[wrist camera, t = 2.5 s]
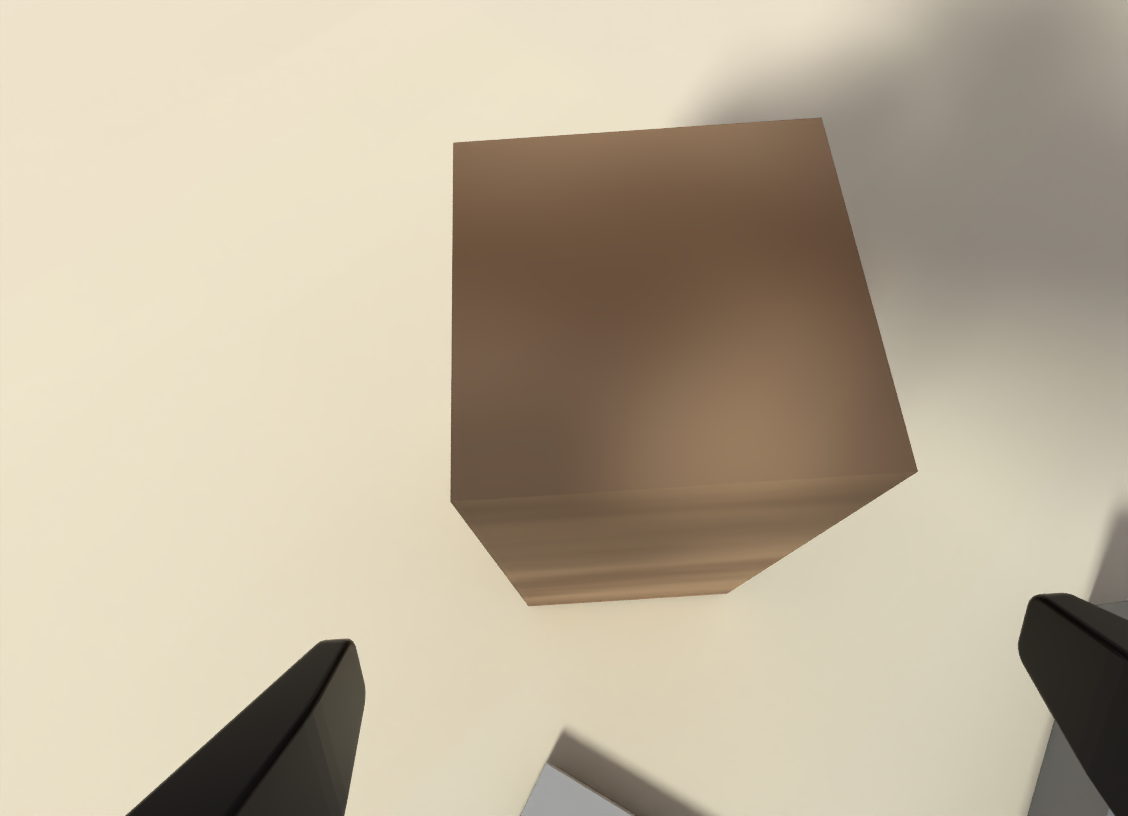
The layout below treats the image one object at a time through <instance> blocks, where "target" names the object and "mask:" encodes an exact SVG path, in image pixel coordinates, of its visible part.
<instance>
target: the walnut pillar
mask: <svg viewBox="0 0 1128 816" xmlns="http://www.w3.org/2000/svg"><path fill="white" fill-rule="evenodd" d="M916 472H918V470H917V467H916V463H915V459H914V456H913V452H912V448H911V445H910V441H909V437H908V434H907V430H906V426H905V423H904V419H903V415H902V412H901V408H900V404H899V401H898V397H897V393H896V390H895V386H894V382H893V379H892V375H891V371H890V368H889V364H888V360H887V357H886V353H885V349H884V346H883V342H882V338H881V335H880V331H879V327H878V324H877V320H876V316H875V313H874V309H873V305H872V302H871V298H870V294H869V291H868V287H867V283H866V280H865V276H864V272H863V269H862V265H861V261H860V258H859V254H858V250H857V247H856V243H855V239H854V236H853V232H852V228H851V225H850V221H849V217H848V214H847V210H846V206H845V203H844V199H843V195H842V192H841V188H840V184H839V181H838V177H837V173H836V170H835V166H834V162H833V159H832V155H831V151H830V148H829V144H828V140H827V137H826V133H825V129H824V126H823V122H822V118H810V119H795V120H780V121H766V122H751V123H736V124H721V125H707V126H692V127H677V128H663V129H648V130H633V131H619V132H604V133H589V134H574V135H560V136H545V137H530V138H516V139H501V140H486V141H472V142H457V143H453V249H452V379H451V503H452V504H453V506H454V507H455V508H456V510H457V511H458V512H459V514H460V515H461V516H462V518H463V519H464V520H465V522H466V523H467V524H468V526H469V527H470V528H471V530H472V531H473V532H474V534H475V535H476V536H477V538H478V539H479V540H480V542H481V543H482V544H483V546H484V547H485V548H486V550H487V551H488V552H489V554H490V555H491V557H492V558H493V559H494V561H495V562H496V563H497V565H498V566H499V567H500V569H501V570H502V571H503V573H504V574H505V575H506V577H507V578H508V579H509V581H510V582H511V583H512V585H513V586H514V587H515V589H516V590H517V591H518V593H519V594H520V595H521V597H522V598H523V599H524V601H525V602H526V603H527V605H528V606H538V605H554V604H570V603H585V602H601V601H617V600H633V599H648V598H664V597H680V596H696V595H711V594H727V593H729V592H730V591H732V590H733V589H735V588H736V587H738V586H740V585H741V584H743V583H744V582H746V581H747V580H749V579H751V578H752V577H754V576H755V575H757V574H758V573H760V572H762V571H763V570H765V569H766V568H768V567H769V566H771V565H772V564H774V563H776V562H777V561H779V560H780V559H782V558H783V557H785V556H787V555H788V554H790V553H791V552H793V551H794V550H796V549H797V548H799V547H801V546H802V545H804V544H805V543H807V542H808V541H810V540H812V539H813V538H815V537H816V536H818V535H819V534H821V533H822V532H824V531H826V530H827V529H829V528H830V527H832V526H833V525H835V524H837V523H838V522H840V521H841V520H843V519H844V518H846V517H847V516H849V515H851V514H852V513H854V512H855V511H857V510H858V509H860V508H862V507H863V506H865V505H866V504H868V503H869V502H871V501H873V500H874V499H876V498H877V497H879V496H880V495H882V494H883V493H885V492H887V491H888V490H890V489H891V488H893V487H894V486H896V485H898V484H899V483H901V482H902V481H904V480H905V479H907V478H908V477H910V476H912V475H913V474H915V473H916Z"/></svg>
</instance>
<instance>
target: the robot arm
mask: <svg viewBox="0 0 1128 816" xmlns="http://www.w3.org/2000/svg"><path fill="white" fill-rule="evenodd" d="M1018 650H1019V655H1020V658H1021V661H1022V663H1023V665H1024V667H1025V668H1026V670H1027V672H1028V674H1029V675H1030V677H1031V679H1032V681H1033V682H1034V684H1035V686H1036V688H1037V690H1038V691H1039V693H1040V695H1041V697H1042V698H1043V700H1044V702H1045V704H1046V705H1047V707H1048V709H1049V711H1050V712H1051V714H1052V716H1053V718H1054V719H1055V721H1056V723H1057V725H1058V726H1059V728H1060V730H1061V732H1062V733H1063V735H1064V737H1065V739H1066V740H1067V742H1068V744H1069V746H1070V748H1071V749H1072V751H1073V753H1074V755H1075V756H1076V758H1077V760H1078V761H1079V763H1080V764H1081V766H1082V768H1083V769H1084V771H1085V773H1086V774H1087V776H1088V777H1089V779H1090V780H1091V782H1092V783H1093V785H1094V787H1095V788H1096V790H1097V791H1098V793H1099V794H1100V796H1101V797H1102V798H1103V800H1104V801H1105V803H1106V804H1107V806H1108V807H1109V809H1110V810H1111V811H1112V813H1113V814H1114V816H1128V620H1127V619H1125V618H1123V617H1120V616H1118V615H1116V614H1114V613H1111V612H1109V611H1107V610H1105V609H1103V608H1100V607H1098V606H1096V605H1094V604H1091V603H1089V602H1087V601H1085V600H1083V599H1080V598H1078V597H1076V596H1074V595H1071V594H1067V593H1052V594H1039V595H1035V596H1033V597H1032V598H1031V599H1030V601H1029V603H1028V606H1027V610H1026V613H1025V617H1024V621H1023V625H1022V629H1021V633H1020V637H1019V641H1018ZM364 705H365V684H364V679H363V675H362V671H361V667H360V662H359V658H358V654H357V650H356V646H355V644H354V642H353V641H352V640H350V639H333V640H324V641H321V642H319V643H318V644H316V645H315V646H314V647H313V648H312V649H311V650H309V651H308V652H307V653H306V654H305V655H304V656H303V657H302V658H301V659H299V660H298V661H297V662H296V663H295V664H294V665H293V666H292V667H291V668H289V669H288V670H287V671H286V672H285V673H284V674H283V675H282V676H281V677H279V678H278V679H277V680H276V681H275V682H274V683H273V684H272V685H270V686H269V687H268V688H267V689H266V690H265V691H264V692H263V693H262V694H260V695H259V696H258V697H257V698H256V699H255V700H254V701H253V702H252V703H250V704H249V705H248V706H247V707H246V708H245V709H244V710H243V711H242V712H240V713H239V714H238V715H237V716H236V717H235V718H234V719H233V720H232V721H230V722H229V723H228V724H227V725H226V726H225V727H224V728H223V729H221V730H220V731H219V732H218V733H217V734H216V735H215V736H214V737H213V738H211V739H210V740H209V741H208V742H207V743H206V744H205V745H204V746H203V747H201V748H200V749H199V750H198V751H197V752H196V753H195V754H194V755H193V756H191V757H190V758H189V759H188V760H187V761H186V762H185V763H184V764H182V765H181V766H180V767H179V768H178V769H177V770H176V771H175V772H174V773H172V774H171V775H170V776H169V777H168V778H167V779H166V780H165V781H164V782H162V783H161V784H160V785H159V786H158V787H157V788H156V789H155V790H154V791H152V792H151V793H150V794H149V795H148V796H147V797H146V798H145V799H143V800H142V801H141V802H140V803H139V804H138V805H137V806H136V807H135V808H133V809H132V810H131V811H130V812H129V813H128V814H127V815H126V816H344V814H345V810H346V805H347V799H348V794H349V788H350V783H351V777H352V772H353V766H354V761H355V755H356V749H357V744H358V738H359V733H360V727H361V722H362V716H363V711H364Z"/></svg>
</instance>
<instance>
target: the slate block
mask: <svg viewBox="0 0 1128 816" xmlns="http://www.w3.org/2000/svg"><path fill="white" fill-rule="evenodd" d="M1096 606H1098V607H1100V608H1103V609H1105V610H1107V611H1109V612H1111V613H1114V614H1116V615H1118V616H1120V617H1123V618H1125V619H1127V620H1128V601H1122V602H1116V603H1109V604H1103V605H1096ZM1028 816H1114V814H1113V813H1112V811H1111V810H1110V809H1109V807H1108V806H1107V804H1106V803H1105V801H1104V800H1103V798H1102V797H1101V796H1100V794H1099V793H1098V791H1097V790H1096V788H1095V787H1094V785H1093V783H1092V782H1091V780H1090V779H1089V777H1088V776H1087V774H1086V773H1085V771H1084V769H1083V768H1082V766H1081V764H1080V763H1079V761H1078V760H1077V758H1076V756H1075V755H1074V753H1073V751H1072V749H1071V748H1070V746H1069V744H1068V742H1067V740H1066V739H1065V737H1064V735H1063V733H1062V732H1061V730H1060V728H1059V726H1058V725H1057V723H1056V721H1055V720H1054V724H1053V727H1052V731H1051V734H1050V738H1049V741H1048V745H1047V749H1046V752H1045V756H1044V759H1043V763H1042V766H1041V770H1040V773H1039V777H1038V780H1037V784H1036V787H1035V791H1034V794H1033V798H1032V802H1031V805H1030V809H1029V812H1028Z"/></svg>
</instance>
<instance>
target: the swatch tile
mask: <svg viewBox="0 0 1128 816" xmlns="http://www.w3.org/2000/svg"><path fill="white" fill-rule="evenodd" d="M521 816H636V815H634V814H633V813H631V812H629V811H628V810H626V809H624V808H623V807H621V806H619V805H618V804H616V803H615V802H613V801H611V800H610V799H608V798H606V797H605V796H603V795H601V794H600V793H598V792H597V791H595V790H593V789H592V788H590V787H588V786H587V785H585V784H583V783H582V782H580V781H579V780H577V779H575V778H574V777H572V776H570V775H569V774H567V773H565V772H564V771H562V770H561V769H559V768H557V767H556V766H554V765H552V764H551V763H549V762H546V764H545V766H544V768H543V770H542V772H541V774H540V777H539V779H538V781H537V783H536V785H535V787H534V789H533V791H532V793H531V795H530V797H529V799H528V801H527V803H526V805H525V808H524V810H523V812H522V814H521Z"/></svg>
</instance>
